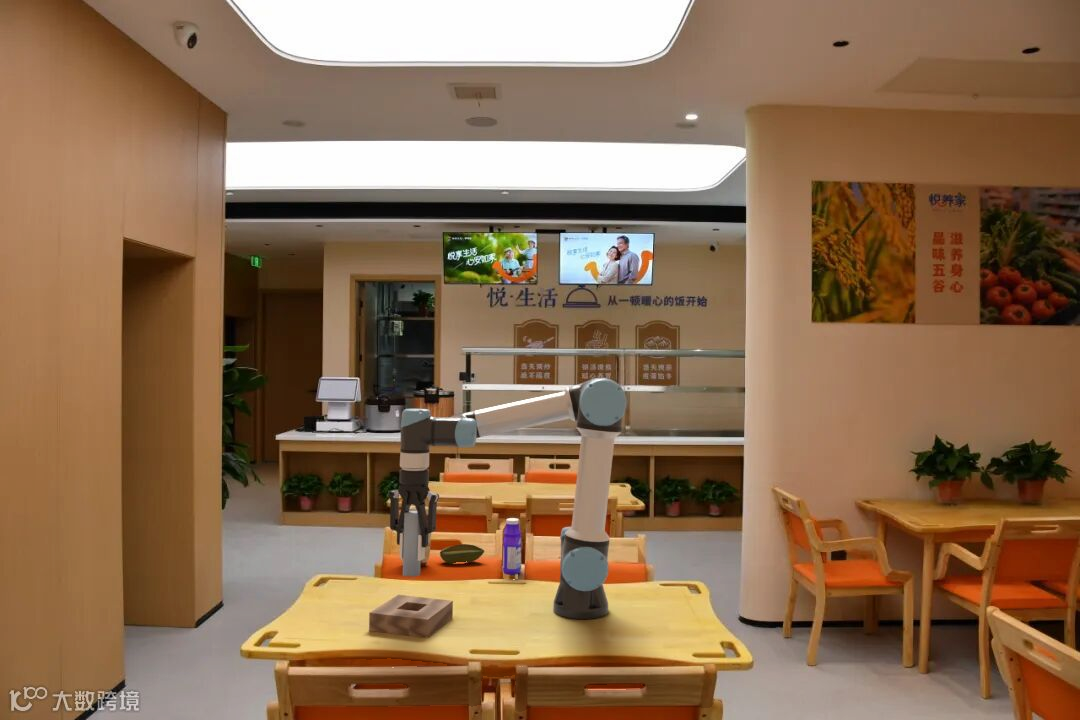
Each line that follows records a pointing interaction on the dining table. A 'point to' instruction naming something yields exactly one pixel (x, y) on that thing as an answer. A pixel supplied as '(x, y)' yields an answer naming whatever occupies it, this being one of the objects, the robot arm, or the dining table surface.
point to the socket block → (411, 616)
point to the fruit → (461, 553)
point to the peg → (411, 544)
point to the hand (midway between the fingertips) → (412, 558)
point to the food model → (427, 549)
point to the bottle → (512, 547)
